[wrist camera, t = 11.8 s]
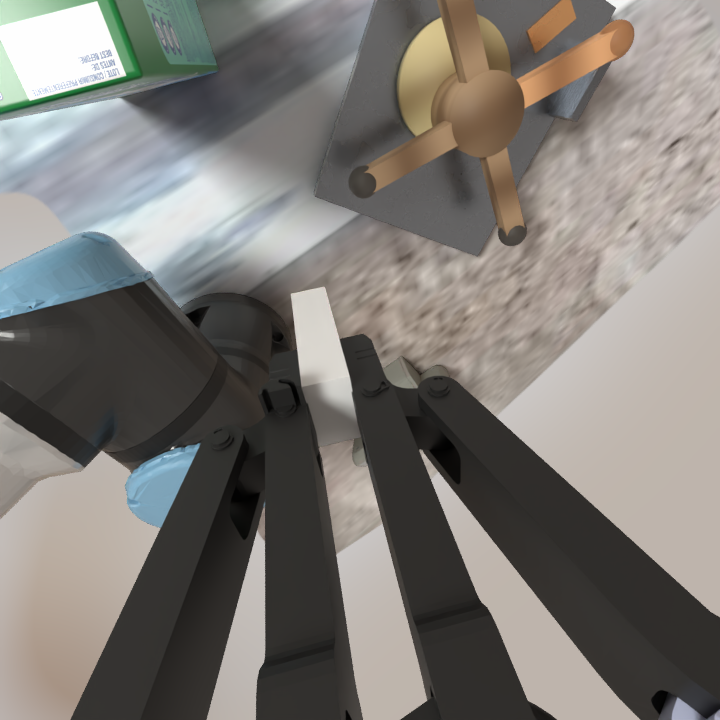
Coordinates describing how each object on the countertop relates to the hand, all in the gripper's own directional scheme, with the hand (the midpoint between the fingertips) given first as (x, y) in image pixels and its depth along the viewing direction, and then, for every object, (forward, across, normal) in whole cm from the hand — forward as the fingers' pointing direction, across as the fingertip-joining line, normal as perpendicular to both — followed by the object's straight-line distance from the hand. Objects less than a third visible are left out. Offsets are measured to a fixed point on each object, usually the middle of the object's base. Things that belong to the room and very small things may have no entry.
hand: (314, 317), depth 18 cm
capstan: (+26, +17, +4) cm, 31 cm away
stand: (+28, +17, +4) cm, 33 cm away
